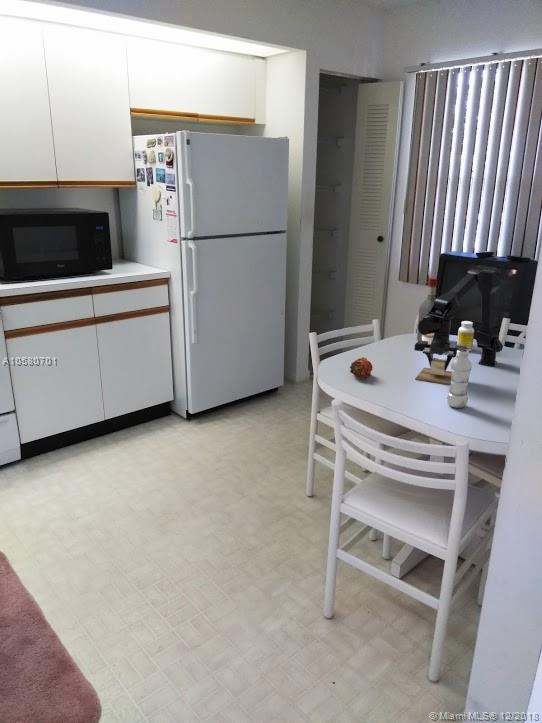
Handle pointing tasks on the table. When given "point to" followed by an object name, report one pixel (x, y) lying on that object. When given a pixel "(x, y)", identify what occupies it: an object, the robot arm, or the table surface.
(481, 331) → the robot arm
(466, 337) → the supplement bottle
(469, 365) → the plastic bottle
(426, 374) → the walnut board
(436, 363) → the maple cube
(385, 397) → the table surface
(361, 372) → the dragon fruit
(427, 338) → the lidded jar
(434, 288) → the liquor
